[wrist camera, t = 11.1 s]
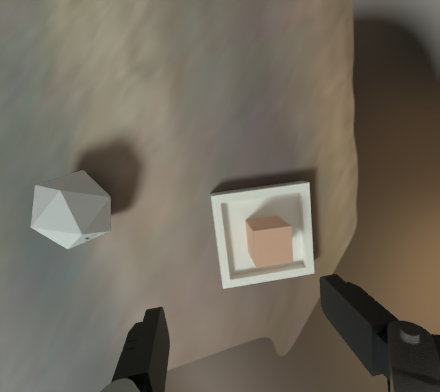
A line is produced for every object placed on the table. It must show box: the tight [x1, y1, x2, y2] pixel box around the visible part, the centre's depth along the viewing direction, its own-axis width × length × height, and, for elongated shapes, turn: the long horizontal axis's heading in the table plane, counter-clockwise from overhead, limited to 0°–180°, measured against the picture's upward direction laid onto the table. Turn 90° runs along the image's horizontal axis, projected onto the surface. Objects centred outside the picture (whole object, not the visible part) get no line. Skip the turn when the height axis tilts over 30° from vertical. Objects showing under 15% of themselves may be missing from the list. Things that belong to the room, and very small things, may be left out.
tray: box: [210, 181, 314, 289], centre depth 36 cm, size 14×14×2 cm
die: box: [31, 170, 111, 249], centre depth 30 cm, size 8×9×10 cm
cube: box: [245, 216, 293, 268], centre depth 34 cm, size 5×5×5 cm
